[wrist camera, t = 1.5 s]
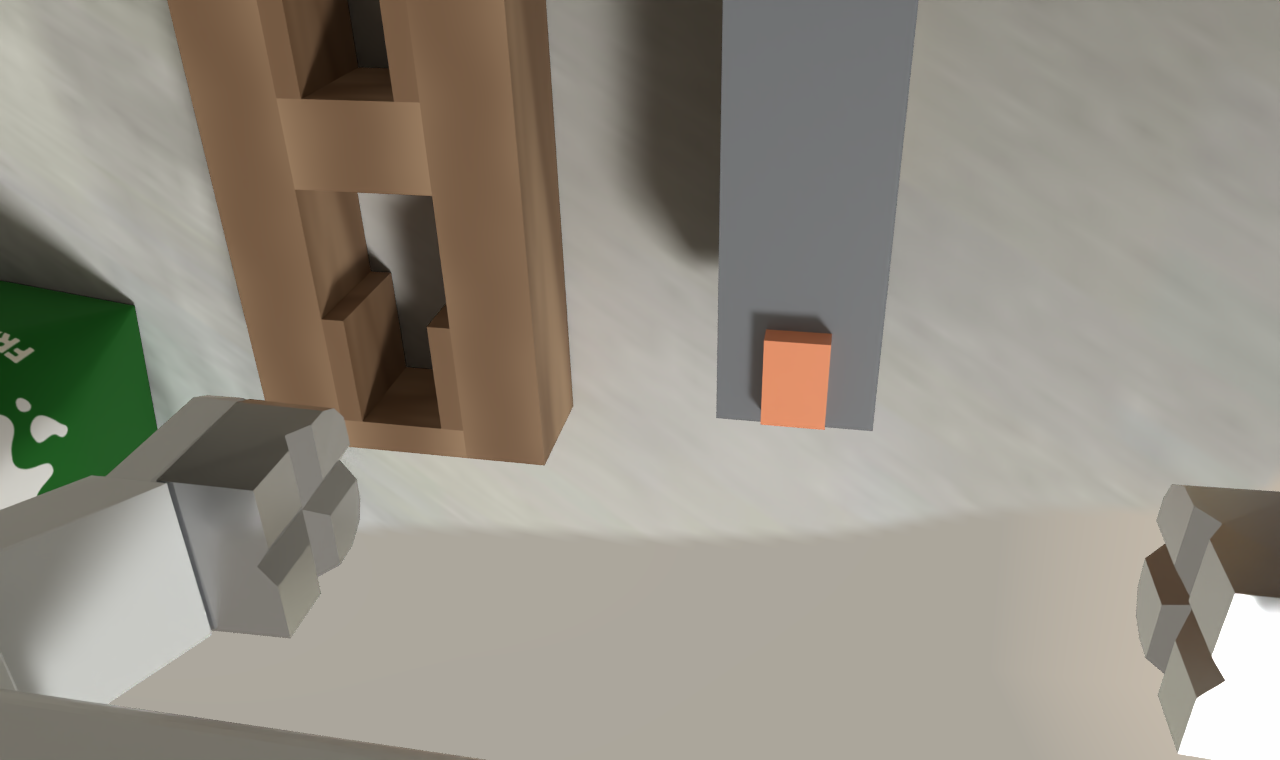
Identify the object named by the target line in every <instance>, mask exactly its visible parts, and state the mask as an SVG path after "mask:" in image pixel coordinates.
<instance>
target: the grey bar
mask: <svg viewBox="0 0 1280 760" xmlns="http://www.w3.org/2000/svg"><path fill="white" fill-rule="evenodd" d="M917 9H918V0H723V21H722V86H721V151H720V216H719V281H718V347H717V412H716V418H723V419H735V420H747V421H759V422H761V424H762V425H774V426H786V427H797V428H809V429H821V430H825V427H830V428H842V429H854V430H866V431H872V430H873V421H874V412H875V402H876V393H877V384H878V374H879V365H880V355H881V346H882V337H883V327H884V318H885V309H886V299H887V290H888V281H889V271H890V262H891V253H892V243H893V234H894V224H895V215H896V206H897V196H898V187H899V178H900V168H901V159H902V150H903V140H904V131H905V122H906V112H907V103H908V94H909V84H910V75H911V65H912V56H913V47H914V37H915V28H916V19H917Z"/></svg>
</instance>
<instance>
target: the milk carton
mask: <svg viewBox="0 0 1280 760" xmlns="http://www.w3.org/2000/svg"><path fill="white" fill-rule="evenodd" d="M156 431H157V424H156V419H155V414H154V408H153V403H152V397H151V392H150V387H149V381H148V376H147V370H146V365H145V359H144V354H143V349H142V343H141V338H140V332H139V327H138V322H137V316H136V311H135V306H134V305H128V304H122V303H117V302H112V301H107V300H101V299H96V298H91V297H85V296H80V295H75V294H69V293H64V292H58V291H53V290H48V289H42V288H37V287H32V286H26V285H21V284H16V283H10V282H5V281H0V510H1V509H4V508H7V507H9V506H12V505H15V504H17V503H20V502H22V501H25V500H28V499H30V498H33V497H36V496H38V495H41V494H44V493H46V492H49V491H52V490H54V489H57V488H59V487H62V486H65V485H67V484H70V483H73V482H75V481H78V480H81V479H83V478H86V477H89V476H91V475H93V476H104V477H105V476H107V475H108V474H109V473H110V472H111V471H112V470H113V469H114V468H115V467H117V466H118V465H119V464H120V463H121V462H122V461H123V460H124V459H126V458H127V457H128V456H129V455H130V454H131V453H132V452H133V451H134V450H136V449H137V448H138V447H139V446H140V445H141V444H142V443H143V442H144V441H146V440H147V439H148V438H149V437H150V436H151V435H152V434H153V433H154V432H156Z"/></svg>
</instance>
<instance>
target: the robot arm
mask: <svg viewBox="0 0 1280 760" xmlns="http://www.w3.org/2000/svg"><path fill="white" fill-rule="evenodd" d="M349 445H350V442H349V438H348V433H347V429H346V425H345V420H344V417H343V416H342V415H341V414H340V413H338V412H337V411H336V410H335V409H334V408H326V407H317V406H308V405H299V404H290V403H281V402H272V401H263V400H254V399H248V400H246V399H244V398H236V397H223V396H211V395H206V396H199V397H193V398H192V399H191V400H190V401H189V402H188V403H187V404H186V405H185V406H183V407H182V408H181V409H180V410H179V411H178V412H177V413H176V414H175V415H173V416H172V417H171V418H170V419H169V420H168V421H167V422H166V423H164V424H163V425H162V426H161V427H160V428H159V429H158V430H157V431H156V432H154V433H153V434H152V435H151V436H150V437H149V438H148V439H147V440H146V441H144V442H143V443H142V444H141V445H140V446H139V447H138V448H137V449H136V450H134V451H133V452H132V453H131V454H130V455H129V456H128V457H127V458H126V459H124V460H123V461H122V462H121V463H120V464H119V465H118V466H117V467H115V468H114V469H113V470H112V471H111V472H110V473H109V474H108V475H107V476H105V477H104V476H93V475H91V476H89V477H86V478H83V479H81V480H78V481H75V482H73V483H70V484H67V485H65V486H62V487H59V488H57V489H54V490H52V491H49V492H46V493H44V494H41V495H38V496H36V497H33V498H30V499H28V500H25V501H22V502H20V503H17V504H15V505H12V506H9V507H7V508H4V509H1V510H0V760H485V759H478V758H471V757H464V756H456V755H450V754H443V753H437V752H429V751H423V750H415V749H409V748H402V747H395V746H389V745H382V744H375V743H368V742H362V741H354V740H347V739H341V738H334V737H327V736H321V735H314V734H307V733H300V732H293V731H287V730H280V729H273V728H266V727H259V726H252V725H246V724H238V723H232V722H225V721H218V720H211V719H204V718H198V717H191V716H184V715H177V714H170V713H164V712H157V711H150V710H143V709H136V708H130V707H123V706H116V705H109V704H108V703H109V702H111V701H113V700H114V699H116V698H117V697H119V696H120V695H122V694H123V693H125V692H126V691H127V690H129V689H130V688H132V687H134V686H135V685H137V684H138V683H140V682H141V681H143V680H144V679H146V678H147V677H149V676H150V675H152V674H153V673H155V672H156V671H158V670H159V669H161V668H162V667H164V666H165V665H167V664H168V663H170V662H171V661H173V660H174V659H176V658H177V657H179V656H180V655H182V654H183V653H185V652H186V651H188V650H190V649H191V648H193V647H194V646H196V645H197V644H199V643H200V642H202V641H203V640H204V639H206V638H208V637H209V636H211V635H212V631H211V630H213V631H223V632H233V633H243V634H254V635H263V636H273V637H283V638H291V637H292V635H293V634H294V633H295V631H296V629H297V628H298V627H299V625H300V624H301V622H302V621H303V619H304V618H305V616H306V615H307V613H308V612H309V610H310V609H311V607H312V606H313V605H314V603H315V602H316V600H317V599H318V597H319V596H320V594H321V591H320V586H319V582H318V576H320V575H322V574H324V573H326V572H327V571H329V570H331V569H333V568H335V567H337V566H339V565H340V564H341V563H342V561H343V560H344V558H345V556H346V555H347V553H348V552H349V550H350V549H351V547H352V544H353V541H354V538H355V534H356V531H357V527H358V524H359V520H360V496H359V490H358V484H357V479H356V478H355V477H354V476H353V475H352V473H351V472H350V471H349V470H348V469H347V468H346V467H345V466H344V464H343V463H342V462H341V461H340V459H341V457H342V456H343V454H344V453H345V451H346V450H347V448H348V447H349ZM1157 523H1158V526H1159V528H1160V531H1161V533H1162V536H1163V538H1164V541H1165V544H1164V545H1163V546H1161V547H1160V548H1159V549H1157V550H1156V551H1155V552H1154V553H1152V554H1151V555H1149V556H1148V557H1146V558H1145V561H1144V565H1143V568H1142V573H1141V577H1140V580H1139V584H1138V591H1137V610H1136V618H1137V625H1138V631H1139V638H1140V641H1141V645H1142V648H1143V651H1144V654H1145V658H1146V659H1148V660H1149V661H1150V662H1151V663H1152V664H1153V665H1155V666H1156V667H1157V668H1158V669H1159V670H1161V671H1162V672H1163V673H1164V677H1163V680H1162V683H1161V687H1160V690H1159V693H1158V697H1159V700H1160V703H1161V706H1162V709H1163V711H1164V715H1165V717H1166V721H1167V723H1168V726H1169V729H1170V732H1171V735H1172V738H1173V741H1174V744H1175V747H1176V750H1177V753H1178V754H1184V755H1190V756H1197V757H1203V758H1209V759H1216V760H1280V492H1276V491H1261V490H1247V489H1233V488H1219V487H1204V486H1190V485H1176V484H1172V485H1171V487H1170V488H1169V490H1168V491H1167V493H1166V495H1165V496H1164V498H1163V501H1162V504H1161V507H1160V510H1159V514H1158V517H1157Z"/></svg>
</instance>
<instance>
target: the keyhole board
mask: <svg viewBox="0 0 1280 760" xmlns="http://www.w3.org/2000/svg"><path fill="white" fill-rule="evenodd" d="M167 1H168V5H169V9H170V14H171V18H172V22H173V26H174V30H175V34H176V38H177V42H178V46H179V50H180V54H181V58H182V63H183V67H184V71H185V75H186V79H187V83H188V87H189V91H190V95H191V99H192V103H193V108H194V112H195V116H196V120H197V124H198V128H199V132H200V136H201V140H202V144H203V148H204V153H205V157H206V161H207V165H208V169H209V173H210V177H211V181H212V185H213V189H214V193H215V198H216V202H217V206H218V210H219V214H220V218H221V222H222V226H223V230H224V234H225V238H226V242H227V247H228V251H229V255H230V259H231V263H232V267H233V271H234V275H235V279H236V283H237V287H238V292H239V296H240V300H241V304H242V308H243V312H244V316H245V320H246V324H247V328H248V332H249V337H250V341H251V345H252V349H253V353H254V357H255V361H256V365H257V369H258V373H259V377H260V382H261V386H262V390H263V394H264V398H265V401H272V402H281V403H290V404H299V405H308V406H317V407H326V408H334V409H335V410H336V411H337V412H338V413H340V414H341V415H342V416H343V417H344V420H345V425H346V429H347V433H348V438H349V442H350V445H349V447H357V448H368V449H378V450H389V451H399V452H410V453H420V454H431V455H441V456H452V457H462V458H473V459H483V460H494V461H504V462H515V463H525V464H536V465H545V463H546V461H547V459H548V457H549V455H550V453H551V451H552V449H553V447H554V445H555V443H556V441H557V438H558V436H559V434H560V432H561V430H562V428H563V426H564V424H565V422H566V420H567V418H568V416H569V414H570V412H571V410H572V407H573V396H572V381H571V367H570V352H569V337H568V322H567V307H566V292H565V278H564V263H563V248H562V233H561V218H560V204H559V189H558V174H557V159H556V144H555V129H554V115H553V100H552V85H551V70H550V55H549V40H548V26H547V11H546V0H379V3H380V9H381V16H382V23H383V30H384V37H385V44H386V51H387V58H388V64H389V68H360V67H358V63H357V57H356V51H355V45H354V38H353V32H352V26H351V20H350V13H349V7H348V1H347V0H167ZM357 192H359V193H380V194H401V195H423V196H432V200H433V207H434V215H435V222H436V230H437V237H438V245H439V253H440V260H441V268H442V275H443V283H444V290H445V298H446V304H445V305H444V307H443V308H442V309H441V310H440V312H439V313H438V314H437V315H436V316H435V318H434V319H433V320H432V321H431V322H430V324H429V325H428V326H427V333H428V339H429V346H430V353H431V360H432V367H433V369H424V368H411V367H406V363H405V357H404V350H403V344H402V338H401V332H400V325H399V319H398V313H397V307H396V300H395V294H394V288H393V282H392V276H391V273H389V272H373V271H371V270H370V264H369V258H368V252H367V246H366V240H365V235H364V229H363V223H362V217H361V211H360V205H359V199H358V194H357Z"/></svg>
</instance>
